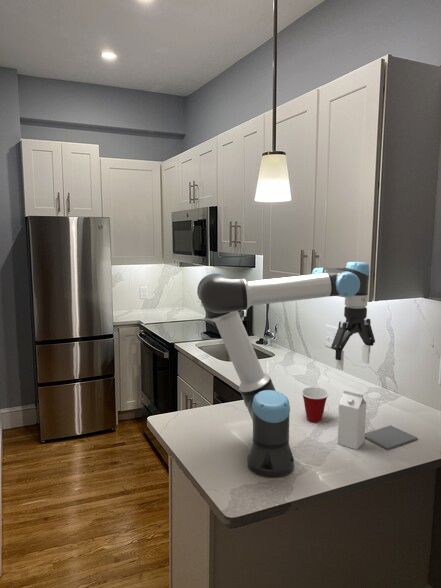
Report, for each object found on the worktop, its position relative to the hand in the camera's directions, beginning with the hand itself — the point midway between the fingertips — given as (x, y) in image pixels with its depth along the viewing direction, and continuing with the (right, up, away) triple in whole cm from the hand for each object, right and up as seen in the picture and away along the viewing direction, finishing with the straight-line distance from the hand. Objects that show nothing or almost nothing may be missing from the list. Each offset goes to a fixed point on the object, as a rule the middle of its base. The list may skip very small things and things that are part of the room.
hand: (352, 365), depth 158 cm
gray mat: (+15, -28, +6) cm, 32 cm away
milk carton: (0, -28, +2) cm, 28 cm away
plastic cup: (-9, -26, +22) cm, 35 cm away
